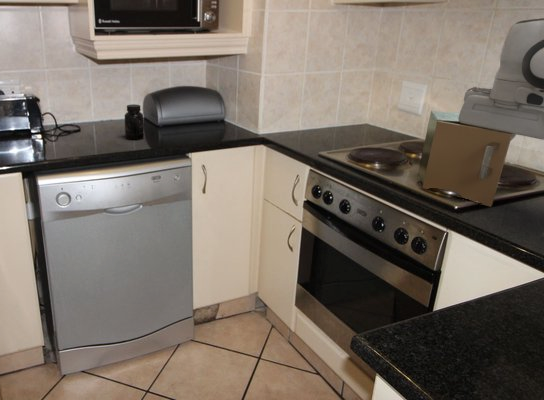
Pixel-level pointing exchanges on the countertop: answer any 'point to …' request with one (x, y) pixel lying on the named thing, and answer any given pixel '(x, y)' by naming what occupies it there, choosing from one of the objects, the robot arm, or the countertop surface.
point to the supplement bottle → (134, 123)
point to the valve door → (467, 161)
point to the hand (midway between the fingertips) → (496, 148)
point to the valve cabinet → (434, 117)
